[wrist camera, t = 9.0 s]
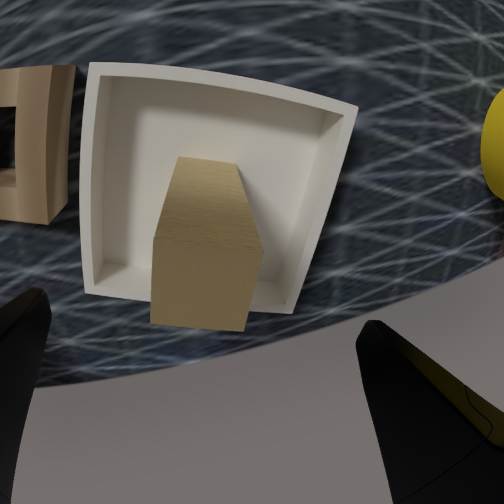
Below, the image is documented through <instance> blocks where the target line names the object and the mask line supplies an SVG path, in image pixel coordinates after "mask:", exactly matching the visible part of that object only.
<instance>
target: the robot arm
mask: <svg viewBox="0 0 504 504" xmlns="http://www.w3.org/2000/svg"><path fill="white" fill-rule="evenodd" d="M51 318H52V313H51V308H50V304H49V299H48V294H47V291H46V290H45V289H42V288H37V287H32V288H30V289H28V290H27V291H25V292H24V293H22V294H21V295H19V296H18V297H16V298H14V299H13V300H11V301H10V302H8V303H7V304H5V305H4V306H3V307H1V308H0V504H11V496H12V488H13V481H14V475H15V468H16V463H17V458H18V453H19V447H20V443H21V437H22V434H23V429H24V425H25V421H26V417H27V413H28V409H29V405H30V402H31V398H32V395H33V391H34V388H35V384H36V381H37V378H38V374H39V371H40V367H41V363H42V358H43V353H44V349H45V344H46V340H47V336H48V332H49V328H50V324H51ZM356 351H357V356H358V361H359V366H360V372H361V377H362V383H363V387H364V392H365V395H366V399H367V402H368V406H369V410H370V413H371V417H372V421H373V424H374V428H375V432H376V435H377V439H378V443H379V447H380V451H381V455H382V459H383V463H384V467H385V471H386V475H387V479H388V483H389V488H390V492H391V497H392V501H393V504H504V412H502V411H501V410H499V409H498V408H496V407H495V406H493V405H492V404H490V403H489V402H488V401H486V400H485V399H483V398H482V397H481V396H479V395H478V394H477V393H475V392H474V391H473V390H471V389H470V388H469V387H468V386H466V385H464V384H463V383H462V382H461V381H460V380H458V379H457V378H456V377H454V376H453V375H452V374H451V373H449V372H448V371H447V370H445V369H444V368H443V367H442V366H440V365H439V364H438V363H436V362H435V361H434V360H432V359H431V358H430V357H428V356H427V355H426V354H425V353H423V352H422V351H421V350H419V349H418V348H417V347H415V346H414V345H413V344H411V343H410V342H409V341H407V340H406V339H405V338H403V337H402V336H401V335H399V334H398V333H397V332H395V331H394V330H393V329H391V328H390V327H389V326H387V325H386V324H385V323H383V322H382V321H380V320H368V321H367V322H366V323H365V325H364V327H363V329H362V330H361V332H360V334H359V336H358V338H357V340H356Z"/></svg>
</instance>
